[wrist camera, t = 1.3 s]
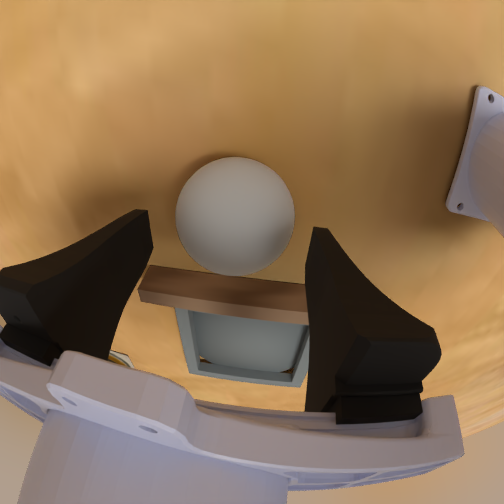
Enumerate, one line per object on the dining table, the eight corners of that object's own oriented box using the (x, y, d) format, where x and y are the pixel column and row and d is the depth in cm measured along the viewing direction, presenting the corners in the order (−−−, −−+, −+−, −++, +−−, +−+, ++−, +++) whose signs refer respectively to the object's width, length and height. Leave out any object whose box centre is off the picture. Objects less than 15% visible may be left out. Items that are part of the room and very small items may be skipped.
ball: (300, 148, 14) (306, 195, 10) (287, 238, 17) (285, 308, 13) (193, 139, 14) (149, 182, 10) (196, 228, 18) (166, 292, 13)
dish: (328, 303, 20) (329, 317, 19) (300, 375, 27) (300, 387, 26) (178, 285, 21) (172, 298, 20) (192, 361, 28) (189, 373, 27)
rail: (360, 290, 19) (365, 317, 17) (355, 301, 20) (360, 328, 18) (150, 265, 20) (137, 289, 18) (153, 277, 21) (140, 301, 19)
